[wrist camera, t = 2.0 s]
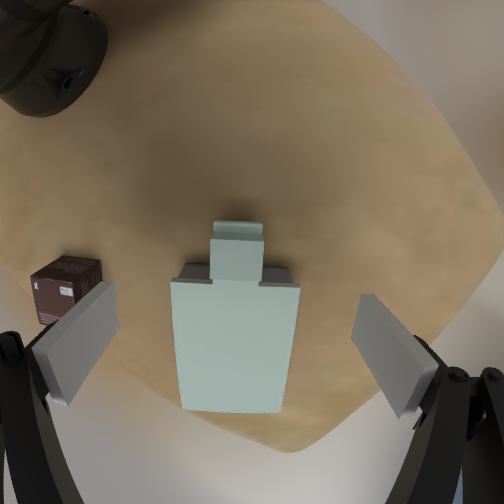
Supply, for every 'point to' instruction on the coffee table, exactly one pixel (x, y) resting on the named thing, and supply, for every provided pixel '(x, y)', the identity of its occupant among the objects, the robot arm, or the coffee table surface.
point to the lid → (233, 327)
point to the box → (63, 286)
